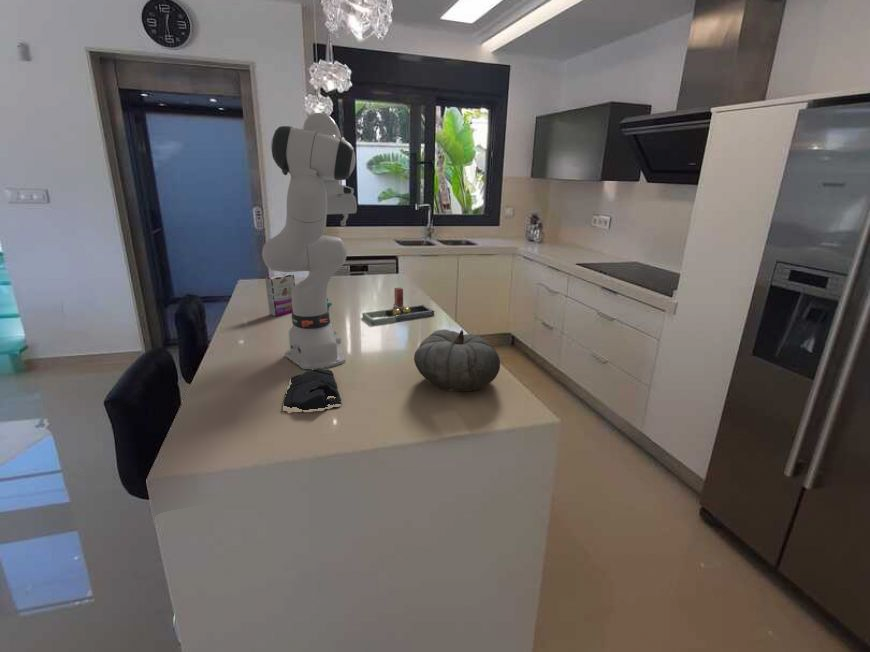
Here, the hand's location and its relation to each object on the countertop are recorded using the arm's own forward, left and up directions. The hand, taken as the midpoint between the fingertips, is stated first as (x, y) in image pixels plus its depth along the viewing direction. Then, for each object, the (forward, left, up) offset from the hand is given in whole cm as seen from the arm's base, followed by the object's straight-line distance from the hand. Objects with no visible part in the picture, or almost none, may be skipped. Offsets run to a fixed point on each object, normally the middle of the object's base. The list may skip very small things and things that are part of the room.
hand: (331, 226), depth 176 cm
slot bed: (-11, -28, -38) cm, 49 cm away
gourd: (-73, -13, -38) cm, 83 cm away
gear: (+13, +4, -38) cm, 41 cm away
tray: (-11, -15, -38) cm, 42 cm away
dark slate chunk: (-61, +26, -39) cm, 76 cm away
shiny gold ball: (-11, -22, -37) cm, 45 cm away
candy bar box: (+18, +18, -38) cm, 46 cm away
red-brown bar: (0, -28, -38) cm, 47 cm away
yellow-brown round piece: (-11, -27, -37) cm, 47 cm away
